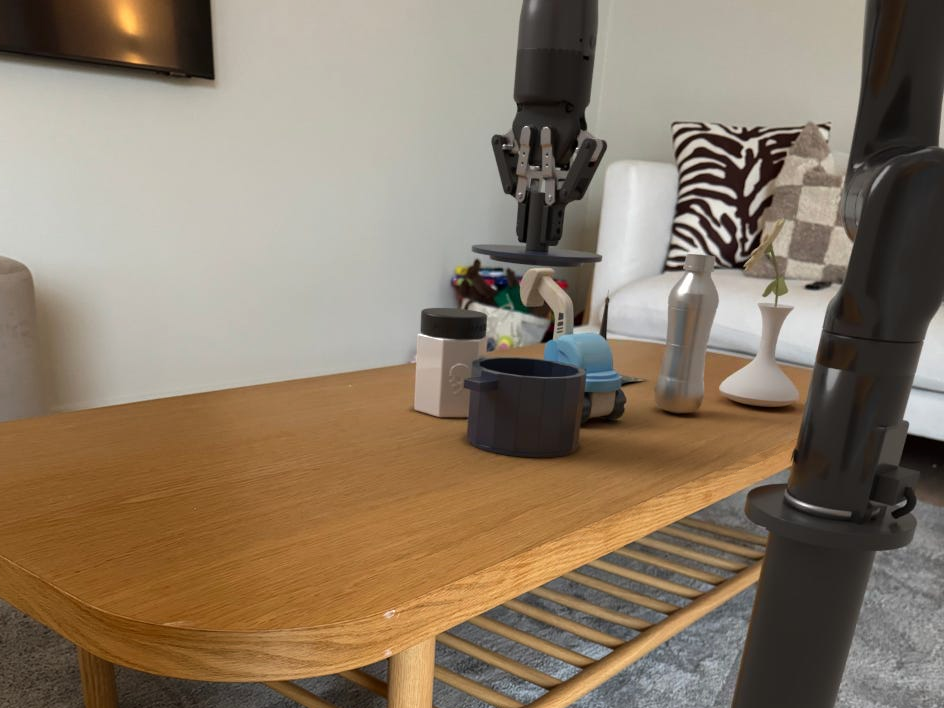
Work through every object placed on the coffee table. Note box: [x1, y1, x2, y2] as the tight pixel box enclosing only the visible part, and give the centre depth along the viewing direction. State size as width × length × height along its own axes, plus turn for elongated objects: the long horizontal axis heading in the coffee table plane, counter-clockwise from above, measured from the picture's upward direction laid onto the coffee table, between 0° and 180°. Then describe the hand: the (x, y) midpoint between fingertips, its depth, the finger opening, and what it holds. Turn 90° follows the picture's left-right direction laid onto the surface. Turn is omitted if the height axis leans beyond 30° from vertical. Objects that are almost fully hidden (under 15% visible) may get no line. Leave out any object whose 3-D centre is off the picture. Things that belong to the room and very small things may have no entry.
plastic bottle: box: [653, 253, 720, 415], centre depth 126 cm, size 6×7×20 cm
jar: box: [413, 307, 488, 419], centre depth 119 cm, size 9×8×12 cm
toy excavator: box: [519, 267, 627, 425], centre depth 122 cm, size 9×17×17 cm, turn 37°
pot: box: [464, 356, 587, 459], centre depth 108 cm, size 13×18×8 cm
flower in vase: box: [718, 217, 800, 408], centre depth 134 cm, size 13×11×25 cm
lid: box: [471, 191, 603, 268], centre depth 98 cm, size 14×14×7 cm
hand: (538, 243), depth 99 cm, fingers closed on lid, 2 cm apart
